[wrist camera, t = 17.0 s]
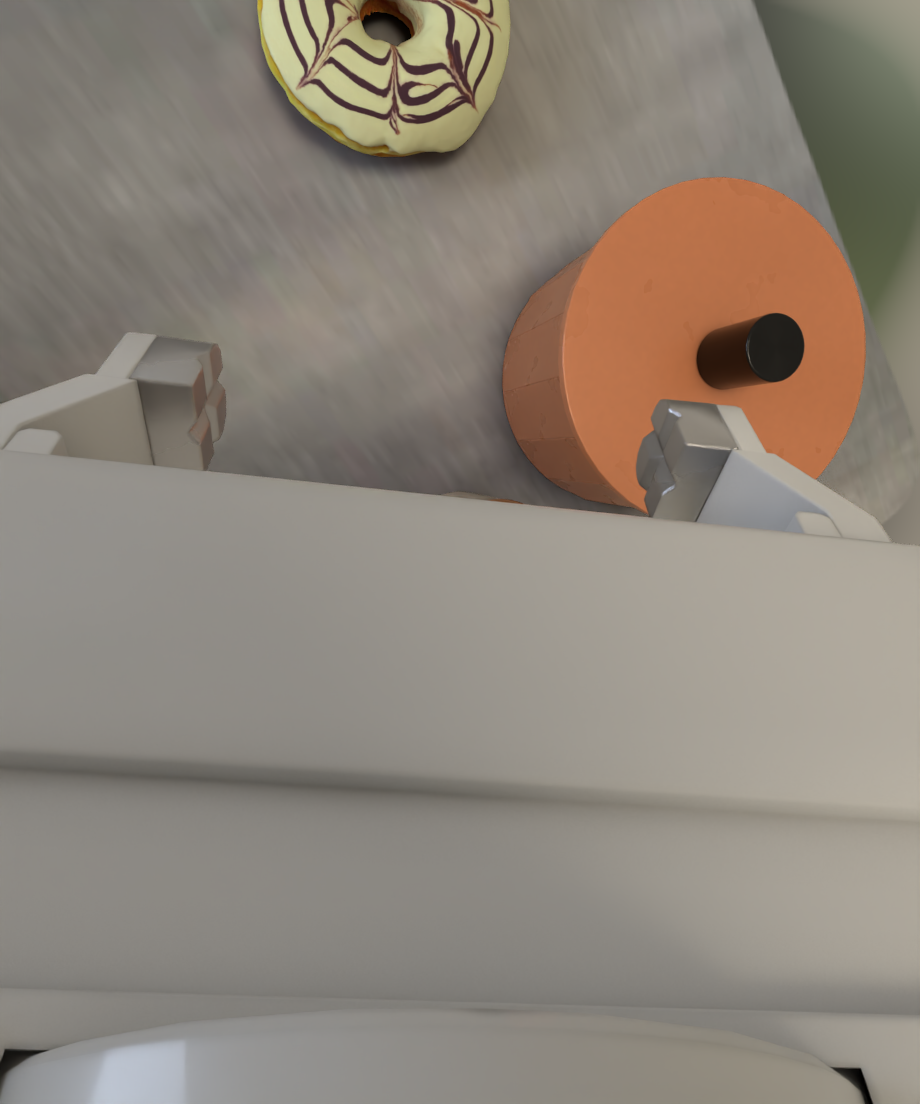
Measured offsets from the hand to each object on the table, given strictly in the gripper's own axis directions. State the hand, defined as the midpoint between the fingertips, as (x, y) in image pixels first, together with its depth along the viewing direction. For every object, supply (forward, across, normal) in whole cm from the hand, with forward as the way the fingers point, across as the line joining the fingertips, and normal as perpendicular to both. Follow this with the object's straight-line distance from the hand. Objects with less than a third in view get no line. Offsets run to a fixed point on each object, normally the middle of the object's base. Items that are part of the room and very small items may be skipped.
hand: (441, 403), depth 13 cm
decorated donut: (+28, +3, -1) cm, 28 cm away
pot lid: (+14, -12, +5) cm, 19 cm away
